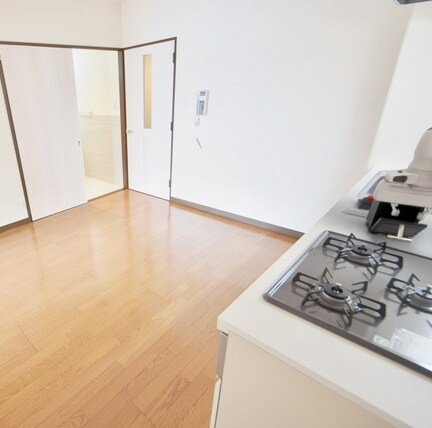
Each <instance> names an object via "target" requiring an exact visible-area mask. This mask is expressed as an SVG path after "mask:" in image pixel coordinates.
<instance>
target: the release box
mask: <svg viewBox="0 0 432 428" xmlns="http://www.w3.org/2000/svg"><path fill="white" fill-rule="evenodd" d="M367 198H368V196H364V197H362V198H358V199H357V202H356V204H357V208H358V209H359V210H364V211H369V210H370V207H371V204H372V202H373V201H370V200H367Z"/></svg>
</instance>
